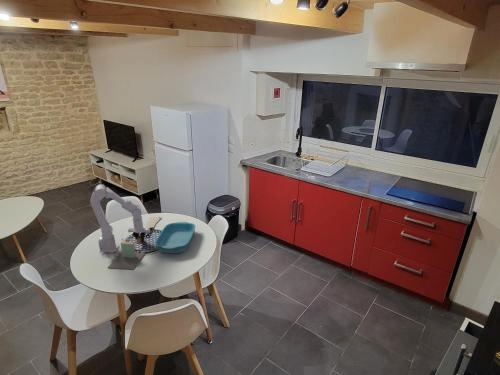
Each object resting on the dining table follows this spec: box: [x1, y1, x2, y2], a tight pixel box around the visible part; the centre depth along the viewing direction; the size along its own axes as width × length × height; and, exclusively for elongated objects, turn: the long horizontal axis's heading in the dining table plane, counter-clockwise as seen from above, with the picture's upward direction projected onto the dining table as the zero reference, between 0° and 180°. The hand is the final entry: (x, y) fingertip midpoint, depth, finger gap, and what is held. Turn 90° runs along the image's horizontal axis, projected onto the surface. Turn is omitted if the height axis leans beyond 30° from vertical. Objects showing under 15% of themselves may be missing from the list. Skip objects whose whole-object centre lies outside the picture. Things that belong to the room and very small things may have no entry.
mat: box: [107, 250, 146, 271], centre depth 195 cm, size 16×18×1 cm
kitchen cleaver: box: [145, 216, 162, 237], centre depth 235 cm, size 31×2×10 cm
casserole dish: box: [155, 221, 196, 254], centre depth 214 cm, size 37×22×7 cm, turn 178°
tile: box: [120, 241, 137, 258], centre depth 196 cm, size 8×2×10 cm, turn 84°
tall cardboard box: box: [135, 234, 144, 245], centre depth 210 cm, size 12×6×5 cm, turn 174°
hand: (140, 241), depth 213 cm, fingers closed on tall cardboard box, 3 cm apart
